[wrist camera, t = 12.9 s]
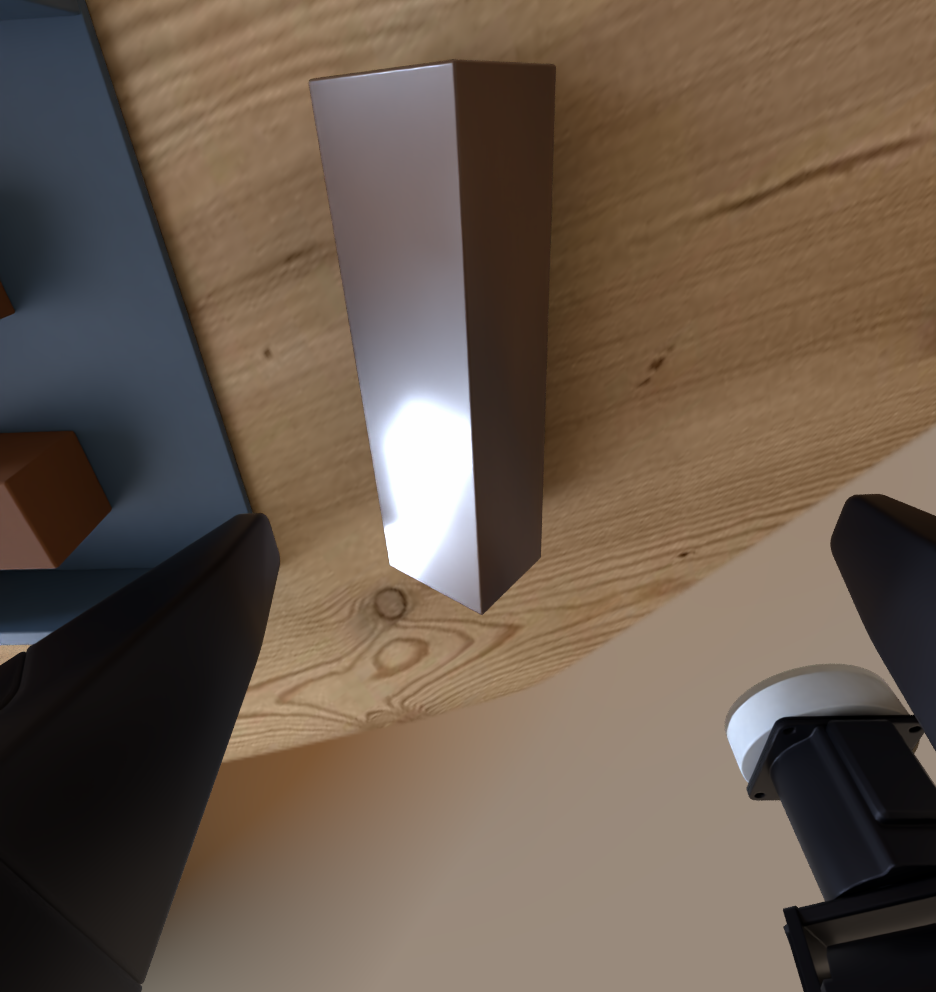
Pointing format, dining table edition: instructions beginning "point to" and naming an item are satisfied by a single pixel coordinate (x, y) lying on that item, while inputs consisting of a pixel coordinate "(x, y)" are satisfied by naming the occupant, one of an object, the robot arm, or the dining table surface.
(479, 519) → the brown long block
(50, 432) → the crumb
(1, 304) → the crumb
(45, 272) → the dustpan
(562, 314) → the dining table surface
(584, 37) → the dining table surface
